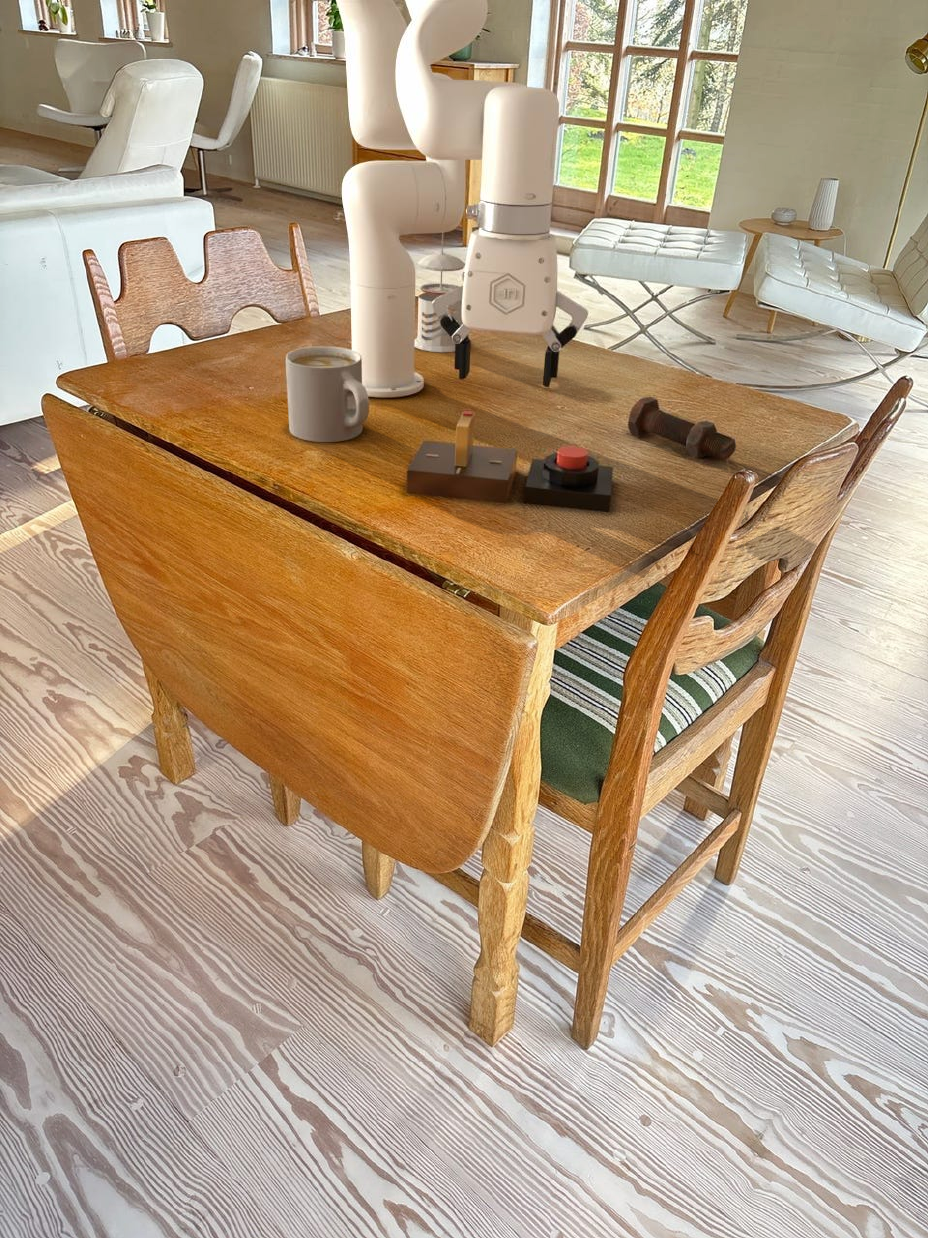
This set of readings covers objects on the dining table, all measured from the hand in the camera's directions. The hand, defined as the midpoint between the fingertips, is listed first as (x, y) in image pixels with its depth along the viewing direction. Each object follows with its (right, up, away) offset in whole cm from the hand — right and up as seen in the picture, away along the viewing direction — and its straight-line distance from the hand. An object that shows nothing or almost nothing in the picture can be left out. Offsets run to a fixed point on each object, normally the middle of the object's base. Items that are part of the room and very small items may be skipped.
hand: (505, 379), depth 110 cm
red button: (+8, -9, +4) cm, 13 cm away
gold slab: (-5, -8, +6) cm, 11 cm away
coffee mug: (-23, -2, +20) cm, 30 cm away
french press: (-8, +21, +60) cm, 64 cm away
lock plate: (-5, -11, +8) cm, 14 cm away
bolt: (+25, -4, +21) cm, 33 cm away
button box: (+8, -12, +6) cm, 16 cm away
